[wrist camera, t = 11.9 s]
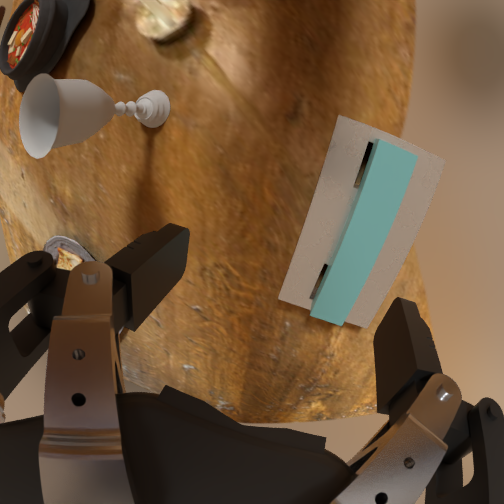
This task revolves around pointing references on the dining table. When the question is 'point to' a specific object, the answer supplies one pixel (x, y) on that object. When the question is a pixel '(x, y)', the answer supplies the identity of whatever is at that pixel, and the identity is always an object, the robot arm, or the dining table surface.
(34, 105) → the chalice
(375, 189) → the strip bar
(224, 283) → the dining table surface
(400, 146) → the plate
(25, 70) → the casserole
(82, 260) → the food plate
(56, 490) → the robot arm
